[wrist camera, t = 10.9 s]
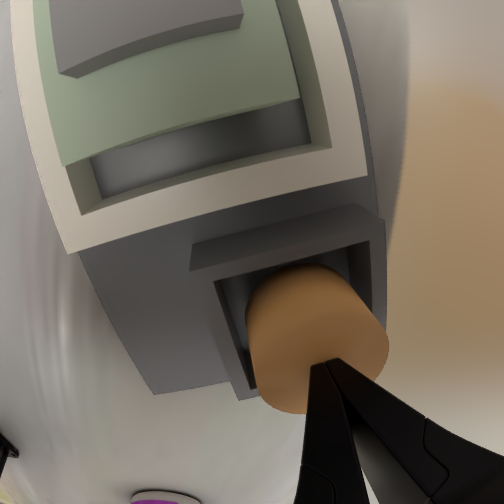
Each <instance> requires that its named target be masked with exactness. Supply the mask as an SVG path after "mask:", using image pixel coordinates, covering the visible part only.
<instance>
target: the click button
mask: <svg viewBox="0 0 504 504" xmlns="http://www.w3.org/2000/svg"><path fill="white" fill-rule="evenodd" d="M245 326H246V332H247V337H248V342H249V348H250V353H251V359H252V364H253V369H254V375H255V380H256V385H257V389H258V392H259V394H260V396H261V397H262V398H263V400H264V401H265V402H266V403H268V404H269V405H270V406H272V407H273V408H276V409H278V410H280V411H283V412H287V413H293V414H306V412H307V401H308V389H309V376H310V367H311V365H314V364H317V363H321V362H324V363H325V362H326V361H327V360H330V359H333V358H337V357H338V358H340V359H342V360H343V361H345V362H346V363H348V364H349V365H350V366H352V367H353V368H355V369H356V370H358V371H359V372H360V373H362V374H363V375H365V376H366V377H368V378H369V379H371V380H372V381H373V382H374V380H375V379H376V378H377V377H378V375H379V374H380V372H381V371H382V369H383V367H384V365H385V363H386V360H387V357H388V352H389V341H388V336H387V334H386V332H385V330H384V329H383V327H382V326H381V324H380V323H379V322H378V320H377V319H376V318H375V317H374V315H373V314H372V313H371V311H370V310H369V309H368V307H367V306H366V305H365V304H364V302H363V301H362V300H361V298H360V297H359V296H358V295H357V293H356V292H355V291H354V289H353V288H352V287H351V286H350V284H349V283H348V282H347V281H346V279H345V278H344V277H343V276H342V275H341V274H340V273H339V272H337V271H336V270H335V269H333V268H331V267H329V266H326V265H323V264H318V263H298V264H293V265H290V266H287V267H284V268H282V269H279V270H277V271H275V272H274V273H272V274H271V275H269V276H268V277H266V278H265V279H264V280H263V281H262V282H261V283H260V284H259V285H258V286H257V287H256V288H255V290H254V291H253V293H252V294H251V296H250V298H249V300H248V302H247V305H246V309H245Z"/></svg>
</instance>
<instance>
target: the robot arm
mask: <svg viewBox="0 0 504 504" xmlns="http://www.w3.org/2000/svg"><path fill="white" fill-rule="evenodd" d="M7 457H13V458H18V457H19V453H18V452H17V451H16V450H15V449H14V448H13V447H12V446H11V445H10V444H9V443H8V442H7V441H6V440H5V439H4V438H3V437H2V436H1V435H0V477H1V474H2V471H3V468H4V466H5V463H6V460H7ZM361 468H362V470H363V472H364V474H365V476H366V478H367V480H368V482H369V484H370V486H371V487H372V490H373V492H374V494H375V496H376V498H377V500H378V502H379V504H504V456H502V455H499V454H497V453H495V452H492V451H490V450H487V449H485V448H483V447H481V446H478V445H476V444H474V443H472V442H470V441H467V440H465V439H463V438H461V437H459V436H457V435H455V434H453V433H451V432H450V431H448V430H446V429H444V428H443V427H441V426H439V425H438V424H436V423H435V422H433V421H432V420H430V419H429V418H426V419H425V416H424V415H422V414H421V413H419V412H418V411H416V410H415V409H413V408H412V407H410V406H409V405H407V404H406V403H404V402H403V401H401V400H400V399H398V398H397V397H395V396H394V395H392V394H391V393H390V392H388V391H386V390H385V389H384V388H382V387H381V386H379V385H378V384H376V383H375V382H373V381H372V380H371V379H369V378H368V377H366V376H365V375H363V374H362V373H360V372H359V371H358V370H356V369H355V368H353V367H352V366H350V365H349V364H348V363H346V362H345V361H343V360H342V359H340V358H338V357H337V358H333V359H330V360H327V361H326V362H325V363H324V362H321V363H317V364H314V365H311V367H310V376H309V389H308V401H307V412H306V422H305V432H304V442H303V451H302V459H301V466H300V474H299V481H298V486H297V492H296V496H295V500H294V503H293V504H370V503H369V498H368V494H367V490H366V486H365V482H364V478H363V474H362V470H361Z"/></svg>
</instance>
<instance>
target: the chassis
mask: <svg viewBox="0 0 504 504" xmlns="http://www.w3.org/2000/svg"><path fill="white" fill-rule="evenodd" d="M275 2H276V6H277V9H278V13H279V16H280V20H281V23H282V27H283V31H284V34H285V38H286V42H287V45H288V49H289V53H290V57H291V61H292V65H293V69H294V73H295V78H296V82H297V86H298V91H299V95H300V98H297V99H294V100H290V101H287V102H283V103H280V104H276V105H273V106H270V107H266V108H263V109H260V110H255V111H251V112H246V113H242V114H237V115H233V116H229V117H224V118H220V119H216V120H212V121H208V122H205V123H201V124H197V125H193V126H190V127H186V128H183V129H179V130H176V131H172V132H169V133H166V134H163V135H159V136H156V137H153V138H150V139H147V140H144V141H141V142H138V143H135V144H132V145H129V146H126V147H123V148H119V149H116V150H113V151H109V152H106V153H103V154H100V155H96V156H93V157H90V158H87V159H84V160H81V161H78V162H76V163H73V164H70V165H67V166H64V167H62V164H61V161H60V157H59V154H58V150H57V147H56V143H55V139H54V135H53V131H52V127H51V123H50V119H49V114H48V110H47V105H46V101H45V96H44V91H43V85H42V80H41V74H40V68H39V61H38V54H37V47H36V38H35V28H34V17H33V1H32V0H10V9H11V31H12V44H13V54H14V63H15V71H16V78H17V84H18V90H19V96H20V102H21V107H22V112H23V117H24V121H25V126H26V130H27V134H28V138H29V142H30V146H31V150H32V154H33V158H34V161H35V165H36V168H37V171H38V175H39V178H40V181H41V184H42V188H43V191H44V194H45V197H46V200H47V203H48V205H49V208H50V211H51V214H52V217H53V219H54V222H55V225H56V227H57V230H58V232H59V235H60V237H61V240H62V242H63V245H64V247H65V250H66V252H67V254H71V253H74V252H77V251H78V253H79V255H80V258H81V260H82V262H83V265H84V267H85V269H86V272H87V274H88V276H89V278H90V280H91V283H92V285H93V287H94V289H95V291H96V293H97V295H98V297H99V299H100V301H101V303H102V305H103V307H104V309H105V311H106V313H107V315H108V317H109V319H110V321H111V323H112V325H113V327H114V329H115V331H116V332H117V334H118V336H119V338H120V340H121V341H122V343H123V345H124V347H125V349H126V350H127V352H128V354H129V356H130V357H131V359H132V361H133V362H134V364H135V366H136V367H137V369H138V371H139V372H140V374H141V376H142V377H143V379H144V380H145V382H146V384H147V385H148V387H149V388H150V390H151V391H152V393H153V394H154V395H156V394H163V393H169V392H175V391H181V390H187V389H193V388H198V387H203V386H208V385H213V384H218V383H223V382H228V381H230V382H231V384H232V386H233V389H234V391H235V393H236V396H237V398H238V400H239V401H240V400H244V399H249V398H253V397H258V396H260V394H259V392H258V389H257V385H256V380H255V375H254V369H253V364H252V359H251V353H250V348H249V342H248V337H247V332H246V326H245V309H246V305H247V302H248V300H249V298H250V296H251V294H252V293H253V291H254V290H255V288H256V287H257V286H258V285H259V284H260V283H261V282H262V281H263V280H264V279H265V278H266V277H268V276H269V275H271V274H272V273H274V272H275V271H277V270H279V269H282V268H284V267H287V266H290V265H293V264H298V263H318V264H323V265H326V266H329V267H331V268H333V269H335V270H336V271H337V272H339V273H340V274H341V275H342V276H343V277H344V278H345V279H346V281H347V282H348V283H349V284H350V286H351V287H352V288H353V289H354V291H355V292H356V293H357V295H358V296H359V297H360V298H361V300H362V301H363V302H364V304H365V305H366V306H367V307H368V309H369V310H370V311H371V313H372V314H373V315H374V317H375V318H376V319H377V320H378V322H379V323H380V324H381V326H382V327H383V329H384V330H385V332H386V315H387V259H386V234H385V221H384V220H383V219H381V218H379V217H378V207H377V196H376V186H375V177H374V169H373V161H372V153H371V146H370V140H369V133H368V127H367V121H366V115H365V110H364V104H363V99H362V94H361V89H360V84H359V80H358V75H357V71H356V66H355V62H354V58H353V54H352V50H351V46H350V42H349V38H348V34H347V31H346V27H345V24H344V20H343V17H342V13H341V10H340V7H339V4H338V0H275Z"/></svg>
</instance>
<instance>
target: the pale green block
mask: <svg viewBox="0 0 504 504" xmlns="http://www.w3.org/2000/svg"><path fill="white" fill-rule="evenodd" d="M32 1H33V17H34V28H35V38H36V47H37V54H38V61H39V68H40V74H41V80H42V85H43V91H44V96H45V101H46V105H47V110H48V114H49V119H50V123H51V127H52V131H53V135H54V139H55V143H56V147H57V150H58V154H59V157H60V161H61V164H62V167H64V166H67V165H70V164H73V163H76V162H78V161H81V160H84V159H87V158H90V157H93V156H96V155H100V154H103V153H106V152H109V151H113V150H116V149H119V148H123V147H126V146H129V145H132V144H135V143H138V142H141V141H144V140H147V139H150V138H153V137H156V136H159V135H163V134H166V133H169V132H172V131H176V130H179V129H183V128H186V127H190V126H193V125H197V124H201V123H205V122H208V121H212V120H216V119H220V118H224V117H229V116H233V115H237V114H242V113H246V112H251V111H255V110H260V109H263V108H266V107H270V106H273V105H276V104H280V103H283V102H287V101H290V100H294V99H297V98H300V95H299V91H298V86H297V82H296V78H295V73H294V69H293V65H292V61H291V57H290V53H289V49H288V45H287V42H286V38H285V34H284V31H283V27H282V23H281V20H280V16H279V13H278V9H277V6H276V2H275V0H32Z"/></svg>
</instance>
